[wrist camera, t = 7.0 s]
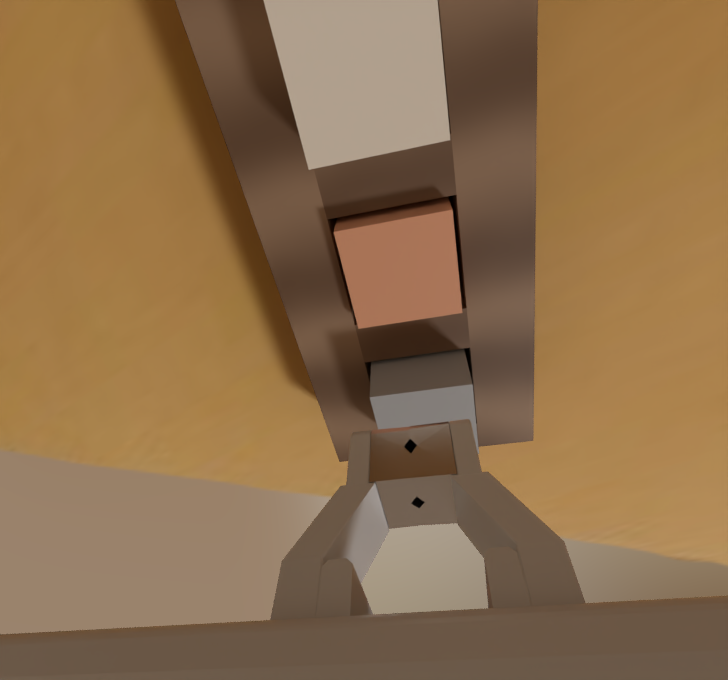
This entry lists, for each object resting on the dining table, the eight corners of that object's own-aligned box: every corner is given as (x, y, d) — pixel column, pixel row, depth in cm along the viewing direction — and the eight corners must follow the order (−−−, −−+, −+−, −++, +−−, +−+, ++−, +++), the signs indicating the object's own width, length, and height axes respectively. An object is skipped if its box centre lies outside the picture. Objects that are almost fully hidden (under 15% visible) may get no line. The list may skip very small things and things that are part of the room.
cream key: (289, 3, 17) (262, -4, 13) (421, -33, 16) (432, -51, 12) (323, 143, 20) (308, 169, 16) (437, 118, 19) (450, 140, 15)
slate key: (371, 344, 26) (369, 397, 22) (459, 331, 25) (472, 384, 21) (387, 407, 28) (387, 463, 25) (466, 397, 28) (479, 454, 24)
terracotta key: (342, 198, 23) (333, 232, 19) (440, 179, 22) (452, 209, 18) (362, 285, 25) (358, 328, 22) (450, 270, 25) (462, 312, 21)
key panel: (196, -43, 18) (153, -59, 14) (507, -135, 16) (539, -178, 13) (344, 417, 32) (339, 461, 29) (517, 395, 30) (533, 440, 27)
